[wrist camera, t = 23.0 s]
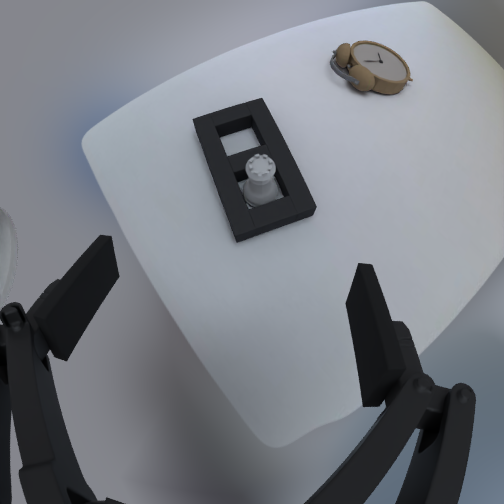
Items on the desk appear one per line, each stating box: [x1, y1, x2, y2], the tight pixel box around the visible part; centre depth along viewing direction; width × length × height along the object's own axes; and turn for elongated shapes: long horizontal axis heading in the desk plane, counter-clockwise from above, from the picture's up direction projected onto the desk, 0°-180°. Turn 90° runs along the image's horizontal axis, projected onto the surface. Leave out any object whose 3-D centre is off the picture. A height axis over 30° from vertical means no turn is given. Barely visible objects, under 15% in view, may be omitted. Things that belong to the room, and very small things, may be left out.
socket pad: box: [193, 98, 316, 242], centre depth 39 cm, size 10×18×3 cm, turn 20°
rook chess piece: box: [243, 154, 278, 207], centre depth 36 cm, size 4×4×8 cm
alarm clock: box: [330, 41, 413, 94], centre depth 43 cm, size 11×5×15 cm
